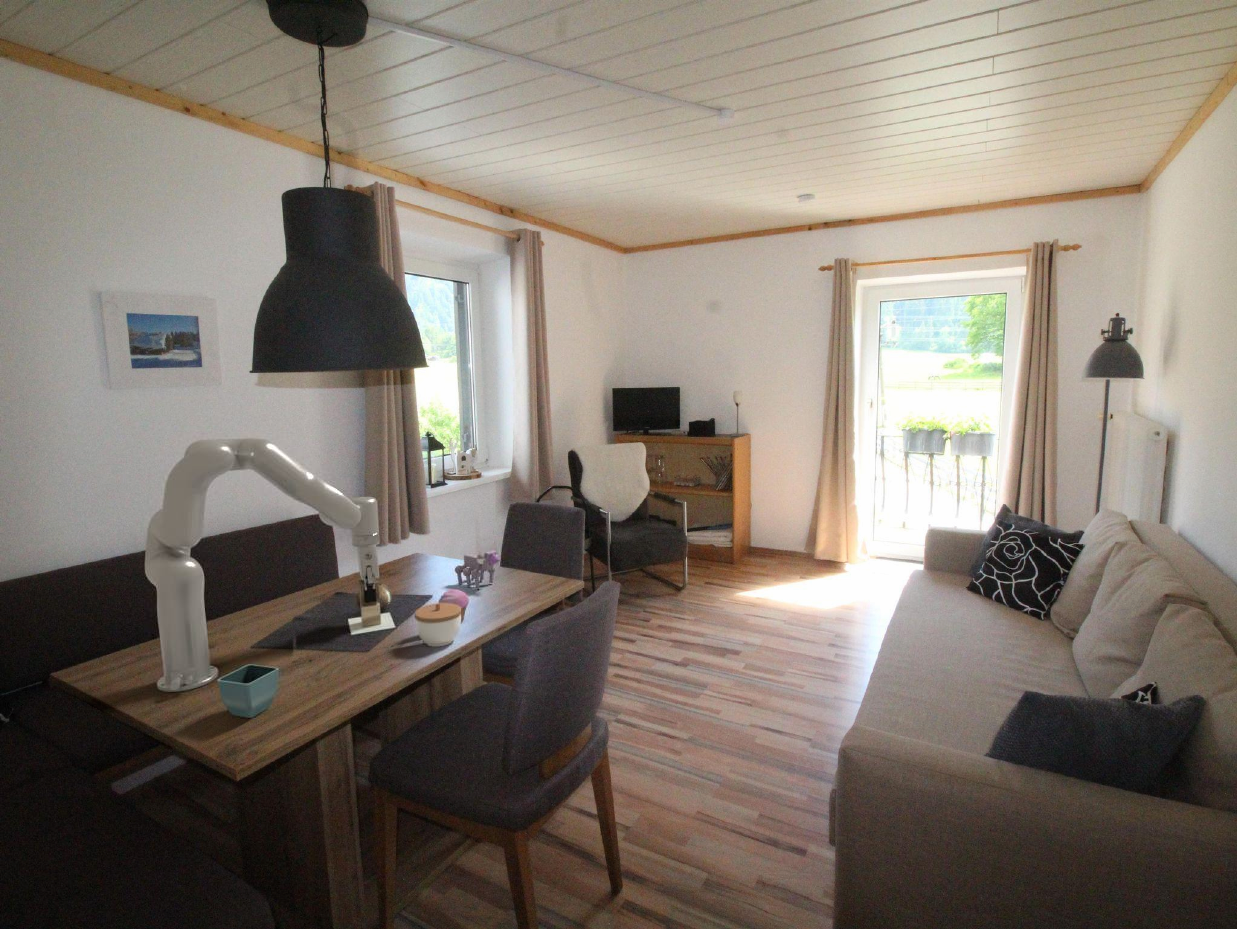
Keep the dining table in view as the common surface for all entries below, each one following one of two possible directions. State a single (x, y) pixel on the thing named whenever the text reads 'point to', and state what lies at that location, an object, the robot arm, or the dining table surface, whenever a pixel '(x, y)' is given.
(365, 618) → the maple block
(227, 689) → the flower pot
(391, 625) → the plate
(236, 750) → the dining table surface
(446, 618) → the lidded bowl
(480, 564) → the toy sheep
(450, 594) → the cupcake
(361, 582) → the walnut block
